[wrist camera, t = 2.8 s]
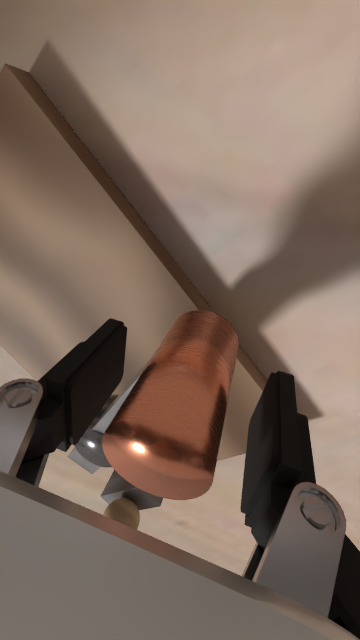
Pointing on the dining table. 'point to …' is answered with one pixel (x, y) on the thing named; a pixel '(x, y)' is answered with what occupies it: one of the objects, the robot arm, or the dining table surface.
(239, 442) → the wooden lever base
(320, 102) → the dining table surface
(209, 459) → the lever
